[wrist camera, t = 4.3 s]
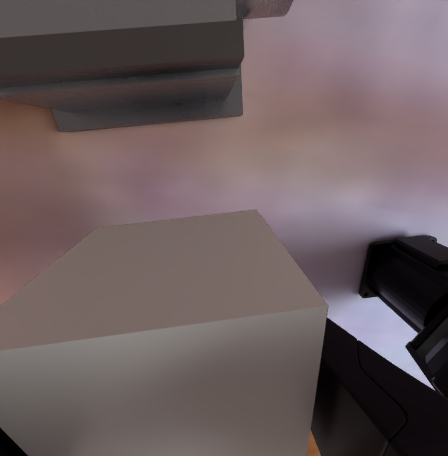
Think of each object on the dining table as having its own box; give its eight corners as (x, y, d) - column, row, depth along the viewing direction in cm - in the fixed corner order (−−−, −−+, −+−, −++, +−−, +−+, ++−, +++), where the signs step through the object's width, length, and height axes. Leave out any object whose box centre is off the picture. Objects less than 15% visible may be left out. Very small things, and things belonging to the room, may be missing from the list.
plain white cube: (259, 323, 10) (304, 472, 6) (138, 341, 10) (81, 510, 5) (256, 209, 8) (328, 306, 3) (96, 228, 8) (-66, 360, 3)
